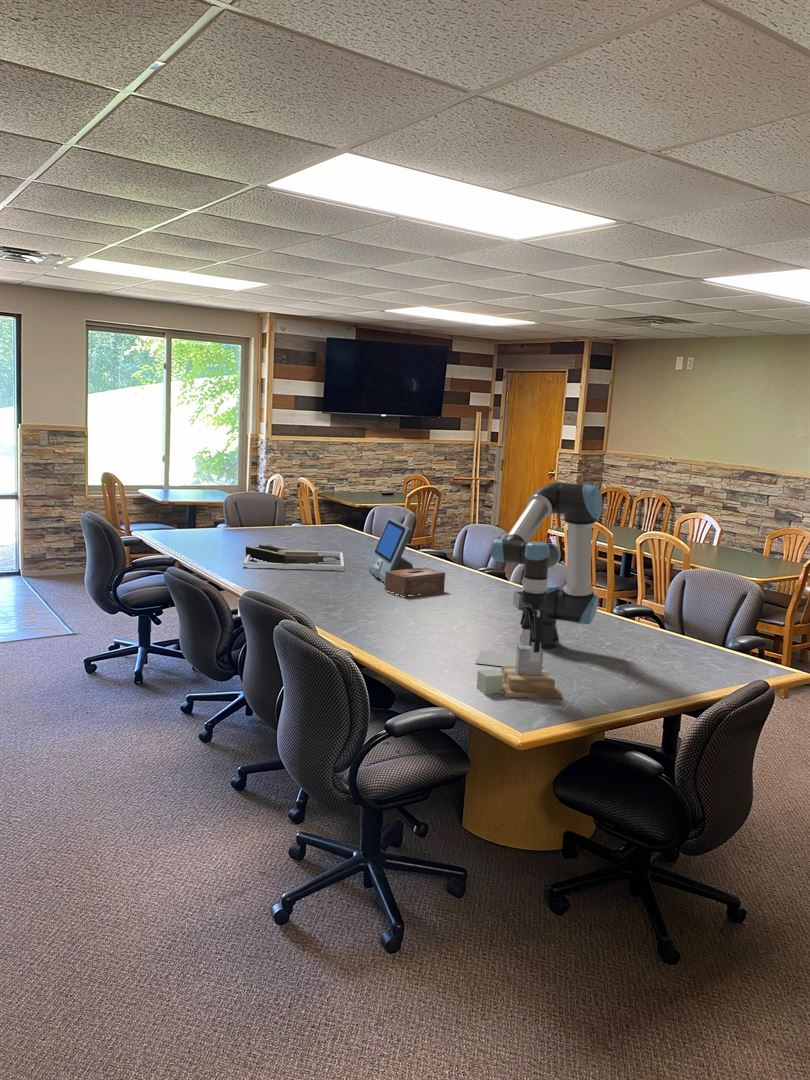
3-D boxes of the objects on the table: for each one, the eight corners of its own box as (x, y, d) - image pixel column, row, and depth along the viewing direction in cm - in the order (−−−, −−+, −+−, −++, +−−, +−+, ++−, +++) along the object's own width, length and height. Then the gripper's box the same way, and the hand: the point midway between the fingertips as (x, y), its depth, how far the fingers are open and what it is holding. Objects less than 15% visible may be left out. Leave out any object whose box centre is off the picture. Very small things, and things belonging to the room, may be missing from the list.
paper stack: (544, 658, 301) (544, 657, 301) (540, 680, 277) (541, 678, 277) (480, 651, 305) (480, 650, 305) (472, 672, 281) (472, 670, 281)
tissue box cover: (403, 598, 386) (404, 577, 385) (384, 591, 397) (385, 571, 396) (444, 592, 403) (445, 572, 401) (424, 586, 414) (425, 567, 412)
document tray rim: (250, 554, 476) (250, 548, 475) (342, 557, 481) (342, 552, 480) (243, 568, 434) (243, 562, 434) (343, 571, 440) (343, 565, 439)
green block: (476, 688, 264) (477, 670, 263) (493, 687, 266) (494, 669, 265) (484, 694, 258) (486, 676, 257) (501, 693, 261) (503, 675, 260)
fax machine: (345, 563, 455) (345, 546, 453) (296, 573, 430) (296, 555, 428) (294, 552, 485) (293, 536, 483) (246, 561, 461) (245, 544, 459)
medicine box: (538, 671, 268) (540, 645, 267) (541, 676, 264) (543, 650, 262) (514, 670, 268) (516, 645, 266) (517, 675, 263) (519, 649, 262)
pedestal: (493, 678, 274) (494, 664, 274) (546, 679, 276) (547, 665, 275) (505, 697, 257) (506, 682, 256) (561, 698, 259) (562, 683, 258)
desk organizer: (513, 603, 385) (514, 591, 384) (556, 604, 387) (557, 592, 386) (518, 609, 374) (519, 596, 373) (563, 610, 377) (564, 597, 376)
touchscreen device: (365, 571, 442) (369, 516, 437) (400, 572, 448) (404, 518, 443) (383, 586, 409) (388, 526, 404) (420, 586, 415) (425, 528, 410)
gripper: (514, 581, 273) (509, 643, 277) (532, 600, 249) (527, 667, 252) (536, 582, 274) (531, 643, 278) (556, 600, 250) (551, 667, 253)
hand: (529, 654), depth 265 cm, fingers open, 13 cm apart
